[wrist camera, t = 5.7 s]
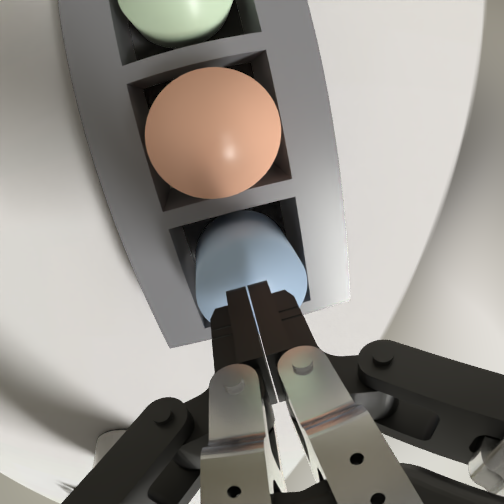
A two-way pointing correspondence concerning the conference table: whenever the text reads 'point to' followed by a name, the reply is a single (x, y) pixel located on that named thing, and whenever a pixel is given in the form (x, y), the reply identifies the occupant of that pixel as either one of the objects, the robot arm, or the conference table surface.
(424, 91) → the conference table surface
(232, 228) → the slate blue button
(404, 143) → the conference table surface
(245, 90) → the orange button
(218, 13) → the sage button
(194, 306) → the tray
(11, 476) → the conference table surface
